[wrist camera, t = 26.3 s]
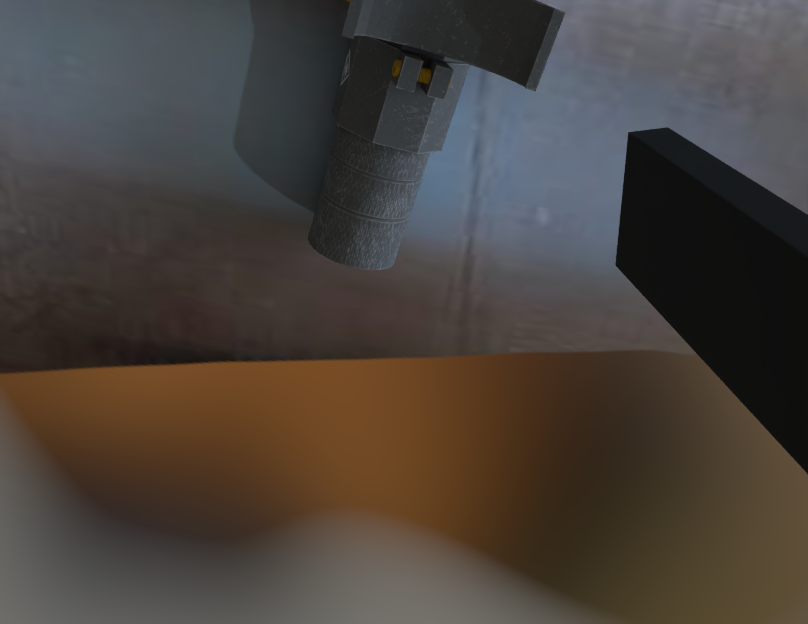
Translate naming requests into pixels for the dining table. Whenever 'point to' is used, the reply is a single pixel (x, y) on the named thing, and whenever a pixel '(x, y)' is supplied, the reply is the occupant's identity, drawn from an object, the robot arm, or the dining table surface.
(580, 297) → the dining table surface
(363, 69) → the laser sight
